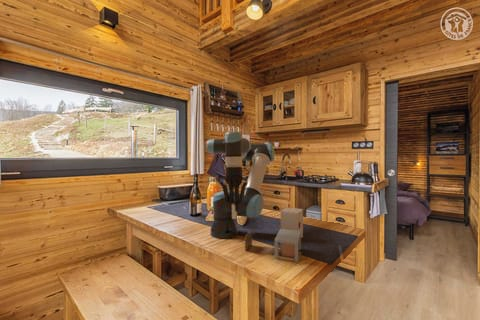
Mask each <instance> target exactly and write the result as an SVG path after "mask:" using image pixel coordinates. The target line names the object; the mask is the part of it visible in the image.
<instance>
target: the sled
mask: <svg viewBox="0 0 480 320" xmlns="http://www.w3.org/2000/svg"><path fill="white" fill-rule="evenodd" d="M244 250H245V252H248V253H254V254H260V255H269V256H275V247H268V246H261V245H253V231H252V230H249V231H248V232H247V233H246V234H245V235H244ZM301 255H302V251H301V250H298V260H300V259H301V257H302V256H301ZM278 257H283V258H288V259H289V258H290V259H295V255H294V257H290V256H283V255H281V248H280V247H279V248H278Z"/></svg>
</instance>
